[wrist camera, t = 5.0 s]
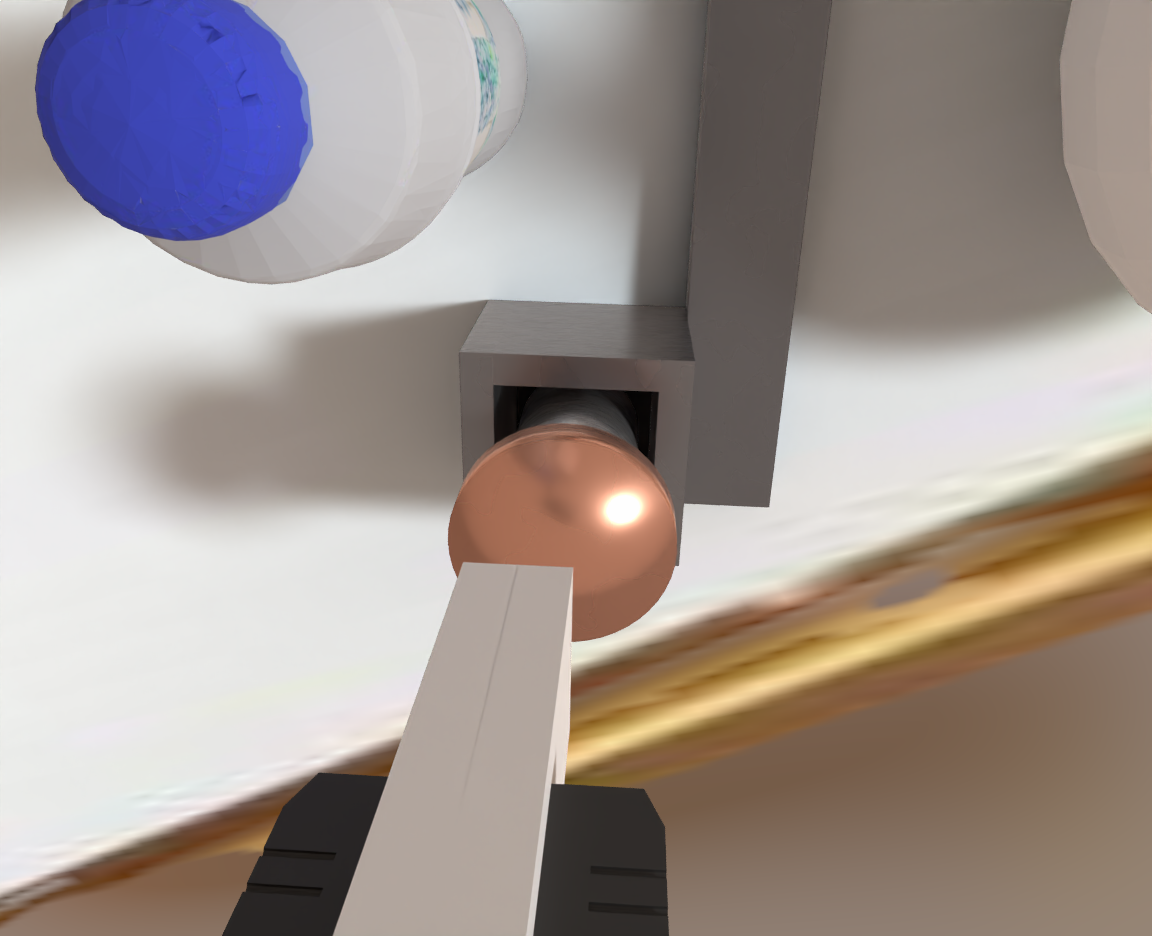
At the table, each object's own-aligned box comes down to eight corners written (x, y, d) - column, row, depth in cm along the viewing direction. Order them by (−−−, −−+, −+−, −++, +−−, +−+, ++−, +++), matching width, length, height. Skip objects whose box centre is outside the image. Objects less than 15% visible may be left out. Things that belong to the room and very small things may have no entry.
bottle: (385, 204, 32) (56, 428, 14) (299, -2, 29) (-244, -61, 11) (570, 138, 31) (474, 287, 12) (496, -84, 28) (241, -302, 10)
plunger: (490, 338, 30) (443, 436, 23) (673, 345, 30) (685, 447, 23) (493, 501, 33) (451, 635, 26) (662, 508, 33) (669, 647, 25)
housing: (472, -546, 24) (423, -719, 18) (888, -547, 23) (965, -725, 18) (491, 477, 36) (465, 555, 31) (763, 489, 36) (786, 571, 30)
